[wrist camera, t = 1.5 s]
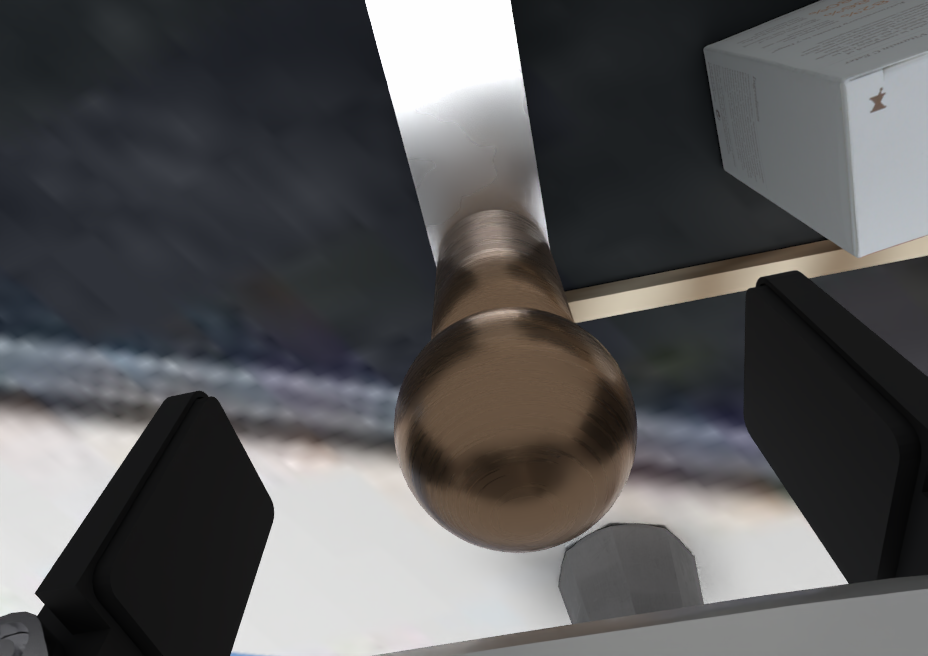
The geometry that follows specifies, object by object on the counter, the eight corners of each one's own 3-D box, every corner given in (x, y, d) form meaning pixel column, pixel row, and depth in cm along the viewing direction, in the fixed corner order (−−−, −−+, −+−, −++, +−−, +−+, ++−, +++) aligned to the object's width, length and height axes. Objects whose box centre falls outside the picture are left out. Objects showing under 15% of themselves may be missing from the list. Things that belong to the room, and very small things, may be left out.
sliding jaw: (483, -123, 21) (595, -605, 4) (559, 333, 30) (691, 805, 13) (371, -92, 21) (-4, -394, 4) (479, 348, 30) (505, 825, 13)
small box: (720, 170, 27) (850, 266, 18) (698, 44, 25) (838, 81, 16) (907, 103, 26) (1150, 171, 17) (905, -38, 23) (1192, -49, 14)
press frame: (1123, -291, 20) (1642, -502, 11) (998, 232, 29) (1229, 340, 20) (376, -87, 22) (324, -130, 14) (478, 332, 31) (486, 466, 23)
